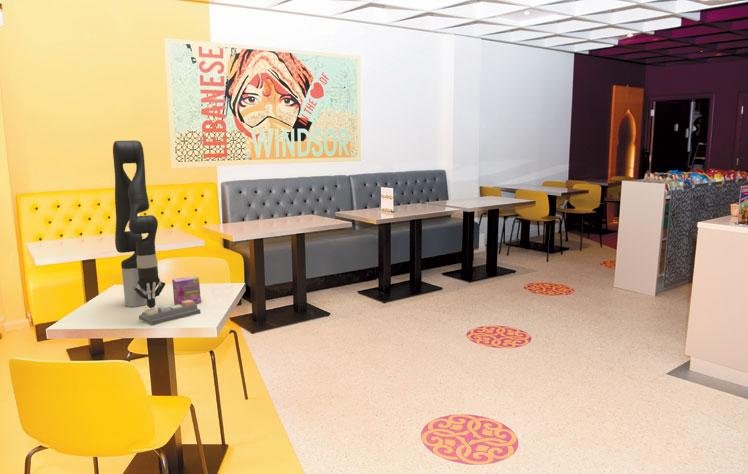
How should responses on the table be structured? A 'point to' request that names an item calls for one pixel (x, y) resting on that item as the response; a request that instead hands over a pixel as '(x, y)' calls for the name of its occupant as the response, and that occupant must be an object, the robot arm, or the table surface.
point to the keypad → (170, 314)
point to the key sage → (176, 307)
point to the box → (186, 289)
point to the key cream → (151, 311)
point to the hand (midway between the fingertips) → (151, 307)
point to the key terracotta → (187, 303)
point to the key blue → (163, 308)
